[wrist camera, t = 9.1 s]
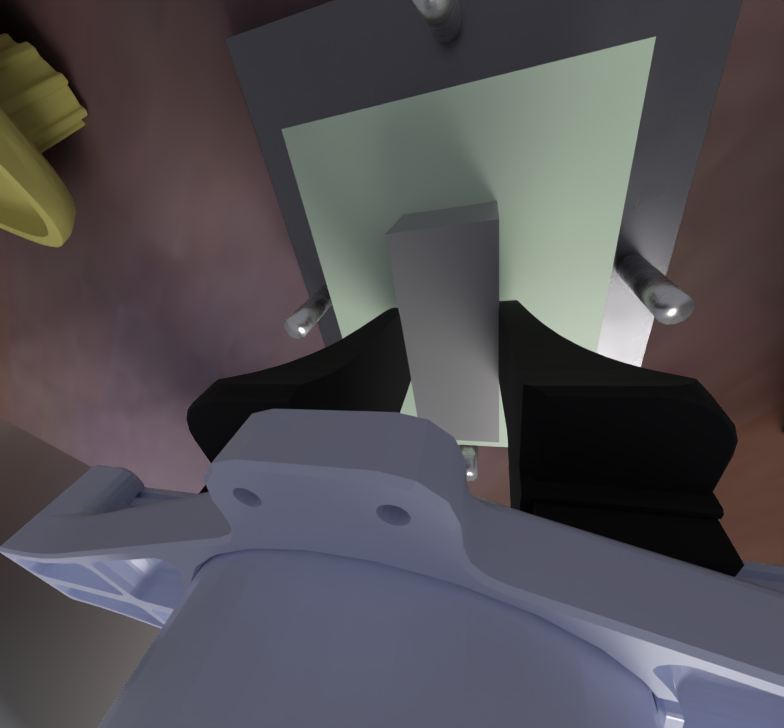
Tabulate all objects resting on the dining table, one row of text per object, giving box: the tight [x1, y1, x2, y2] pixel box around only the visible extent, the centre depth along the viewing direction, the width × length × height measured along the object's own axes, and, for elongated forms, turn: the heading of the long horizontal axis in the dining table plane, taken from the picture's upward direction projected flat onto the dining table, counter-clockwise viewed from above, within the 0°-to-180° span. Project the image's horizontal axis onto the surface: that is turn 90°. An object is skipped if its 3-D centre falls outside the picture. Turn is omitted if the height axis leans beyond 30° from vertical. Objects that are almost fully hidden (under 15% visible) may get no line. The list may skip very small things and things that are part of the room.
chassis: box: [225, 0, 743, 481], centre depth 14 cm, size 20×16×5 cm
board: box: [281, 36, 656, 447], centre depth 12 cm, size 14×10×3 cm
